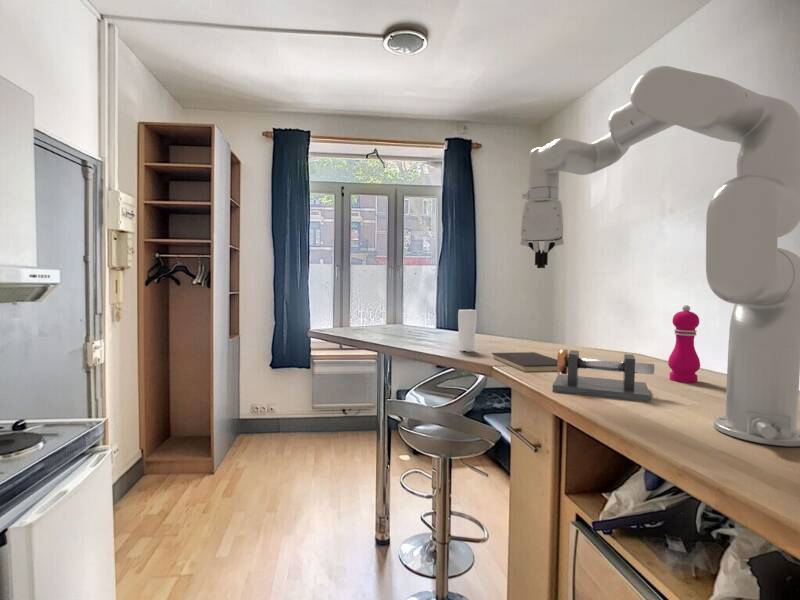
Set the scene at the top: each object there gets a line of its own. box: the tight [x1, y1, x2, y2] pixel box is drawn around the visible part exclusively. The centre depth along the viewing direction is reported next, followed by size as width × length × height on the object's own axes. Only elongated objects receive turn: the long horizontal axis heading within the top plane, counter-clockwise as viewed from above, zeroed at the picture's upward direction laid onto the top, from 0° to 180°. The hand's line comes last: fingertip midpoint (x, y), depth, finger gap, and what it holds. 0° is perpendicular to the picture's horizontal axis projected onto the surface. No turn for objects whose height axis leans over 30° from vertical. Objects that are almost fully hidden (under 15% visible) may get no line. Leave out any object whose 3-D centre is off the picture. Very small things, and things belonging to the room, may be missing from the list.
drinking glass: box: [457, 309, 478, 353], centre depth 164 cm, size 7×7×15 cm
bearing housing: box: [552, 349, 652, 403], centre depth 107 cm, size 20×14×8 cm
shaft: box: [556, 348, 655, 376], centre depth 106 cm, size 20×6×6 cm, turn 66°
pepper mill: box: [667, 304, 701, 384], centre depth 119 cm, size 7×7×20 cm
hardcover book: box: [491, 351, 568, 373], centre depth 141 cm, size 16×23×2 cm
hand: (541, 267), depth 118 cm, fingers closed
